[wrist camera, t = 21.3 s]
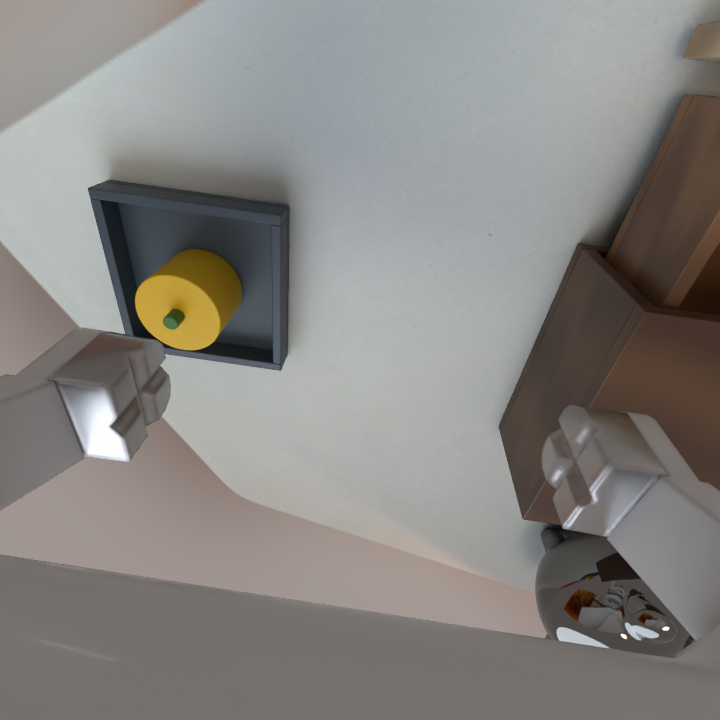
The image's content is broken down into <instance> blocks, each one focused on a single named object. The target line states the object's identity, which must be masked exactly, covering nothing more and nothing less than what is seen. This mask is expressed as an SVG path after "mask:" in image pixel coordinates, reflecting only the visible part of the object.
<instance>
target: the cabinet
mask: <svg viewBox="0 0 720 720" xmlns="http://www.w3.org/2000/svg"><path fill="white" fill-rule="evenodd" d="M609 250H610V248H605V247H598V246H591V245H584V244H578V245H577V248H576V250H575V252H574V255H573V257H572V259H571V262H570V264H569V266H568V268H567V271H566V273H565V275H564V278H563V280H562V282H561V285H560V287H559V289H558V291H557V294H556V296H555V298H554V301H553V303H552V305H551V308H550V310H549V312H548V314H547V317H546V319H545V321H544V324H543V326H542V328H541V331H540V333H539V335H538V337H537V340H536V342H535V344H534V347H533V349H532V351H531V354H530V356H529V358H528V360H527V363H526V365H525V367H524V370H523V372H522V374H521V377H520V379H519V381H518V384H517V386H516V388H515V390H514V393H513V395H512V397H511V400H510V402H509V404H508V407H507V409H506V411H505V413H504V416H503V418H502V420H501V423H500V425H499V430H500V433H501V438H502V442H503V446H504V449H505V453H506V457H507V461H508V465H509V469H510V472H511V476H512V480H513V484H514V488H515V492H516V495H517V499H518V503H519V507H520V511H521V515H522V519H524V520H530V521H537V522H544V523H551V524H558V525H561V522H560V519H559V516H558V513H557V511H556V508H555V505H554V502H553V499H552V498H553V496H554V495H555V493H556V491H557V490H556V489H555V488H554V487H553V486H552V485H551V484H550V483H549V482H548V481H547V480H546V479H545V475H544V472H543V469H542V460H541V459H542V452H543V446H544V444H545V442H546V440H547V438H548V436H549V435H550V434H551V433H553V432H555V431H557V430H559V429H560V428H561V426H560V423H559V420H558V418H559V417H560V415H561V413H562V412H563V410H564V409H565V408H566V407H568V406H569V405H576V406H582V407H589V408H596V409H602V410H609V411H616V412H629V413H637V414H645V415H649V416H650V417H652V418H653V419H655V420H656V421H657V423H658V424H659V425H660V427H661V428H662V430H663V431H664V432H665V434H666V435H667V437H668V438H669V439H670V441H671V442H672V443H673V445H674V446H675V448H676V449H677V450H678V452H679V453H680V455H681V456H682V457H683V459H684V460H685V462H686V463H687V464H688V466H689V467H690V469H691V470H692V471H693V473H694V474H695V475H696V477H697V478H698V480H699V481H700V482H705V483H709V484H711V485H712V486H714V487H715V488H716V489H718V490H719V491H720V315H713V314H706V313H699V312H692V311H685V310H678V309H671V308H664V307H657V306H653V305H652V304H651V303H650V302H649V301H648V300H647V299H646V298H645V297H644V296H643V295H642V294H641V293H640V292H639V291H638V290H637V289H636V288H634V287H633V286H632V285H631V284H630V283H629V282H628V281H627V280H626V279H625V278H624V277H623V276H622V275H621V274H620V273H619V272H618V271H617V270H616V269H615V268H614V267H612V266H611V265H610V264H609V263H608V262H607V261H606V260H605V258H606V256H607V254H608V252H609Z"/></svg>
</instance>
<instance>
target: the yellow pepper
mask: <svg viewBox="0 0 720 720" xmlns="http://www.w3.org/2000/svg"><path fill="white" fill-rule="evenodd" d="M241 300H242V286H241V282H240V280H239V277H238V275H237V274H236V272H235V271H234V269H233V268H232V267H231V266H230V264H229V263H227V262H226V261H225V260H224V259H223V258H221V257H220V256H218V255H216V254H214V253H212V252H209V251H206V250H202V249H188V250H184V251H182V252H180V253H178V254H176V255H175V256H174V257H173V258H172V259H170V260H169V261H168V262H167V263H165V264H164V265H163V266H162V267H160V268H159V269H158V270H157V271H156V272H154V273H153V274H152V275H151V276H149V277H148V278H147V279H146V280H145V281H143V282H142V283H141V285H140V286H139V287H138V289H137V292H136V296H135V307H136V311H137V314H138V316H139V319H140V320H141V322H142V324H143V325H144V326H145V328H146V329H147V330H148V331H149V332H150V333H151V334H152V335H153V336H154V337H156V338H157V339H158V340H160V341H161V342H163V343H165V344H167V345H169V346H171V347H174V348H177V349H182V350H199V349H202V348H205V347H207V346H209V345H210V344H212V343H213V342H214V341H215V340H216V338H217V337H218V336H219V334H220V333H221V331H222V330H223V329H224V327H225V326H226V324H227V323H228V321H229V320H230V318H231V317H232V316H233V314H234V313H235V311H236V310H237V308H238V307H239V305H240V303H241Z"/></svg>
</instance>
